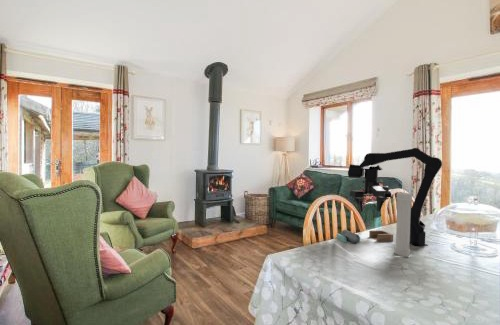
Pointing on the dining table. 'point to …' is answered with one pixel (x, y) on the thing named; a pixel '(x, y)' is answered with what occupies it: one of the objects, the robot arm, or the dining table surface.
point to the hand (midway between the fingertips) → (369, 211)
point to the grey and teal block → (350, 236)
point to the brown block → (381, 235)
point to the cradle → (343, 238)
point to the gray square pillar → (403, 223)
